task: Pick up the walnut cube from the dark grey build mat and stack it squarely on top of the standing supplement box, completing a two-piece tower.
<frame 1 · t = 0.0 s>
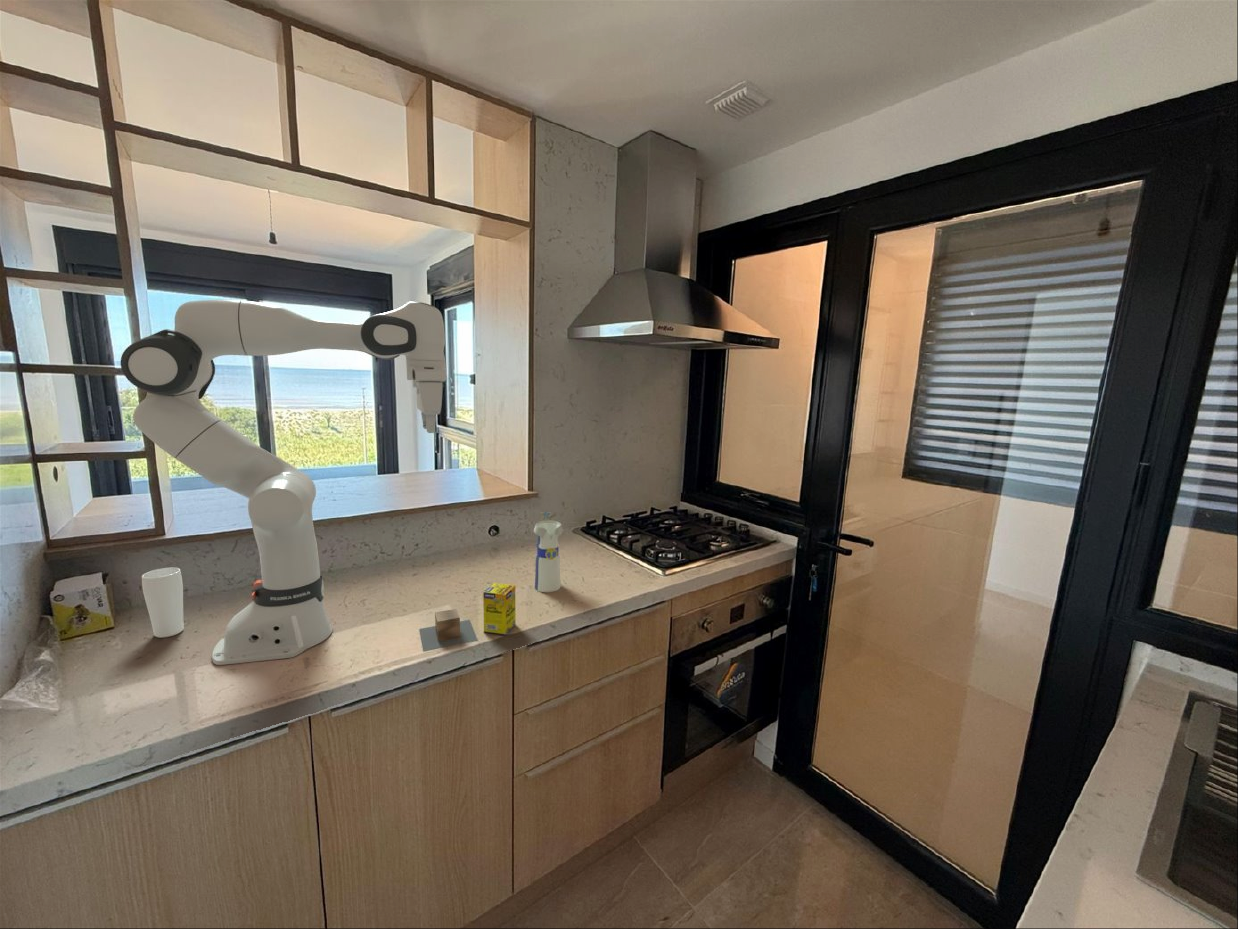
hand: (428, 430, 122), 48 cm above the countertop, fingers open, 8 cm apart
drinking glass: (169, 633, 117), on the countertop
walnut cube: (447, 634, 119), resting on build mat
water bottle: (548, 587, 148), on the countertop
build mat: (447, 636, 119), on the countertop
supplement box: (500, 630, 122), on the countertop
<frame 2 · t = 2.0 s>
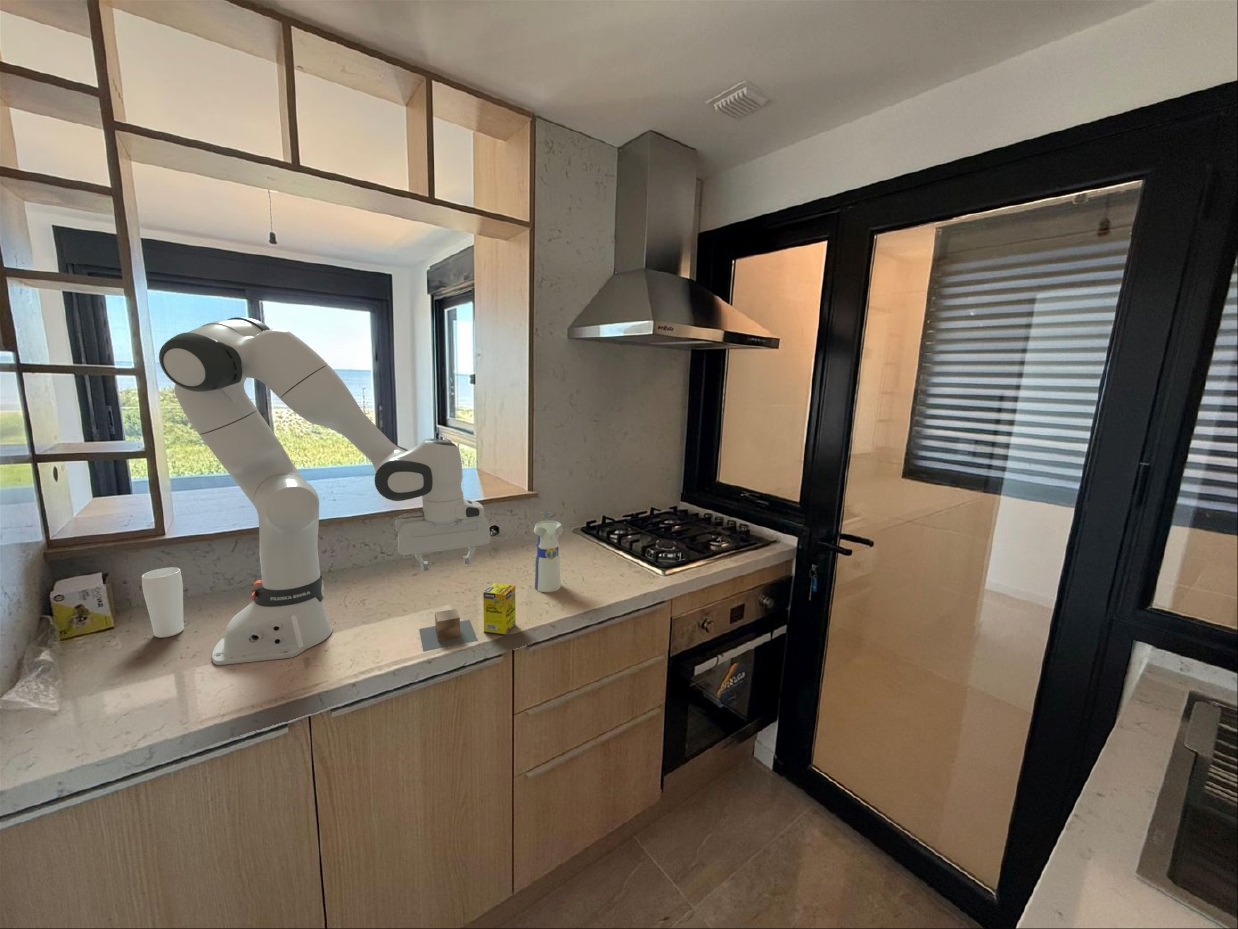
hand: (446, 566, 116), 17 cm above the countertop, fingers open, 8 cm apart
nothing on the countertop moved.
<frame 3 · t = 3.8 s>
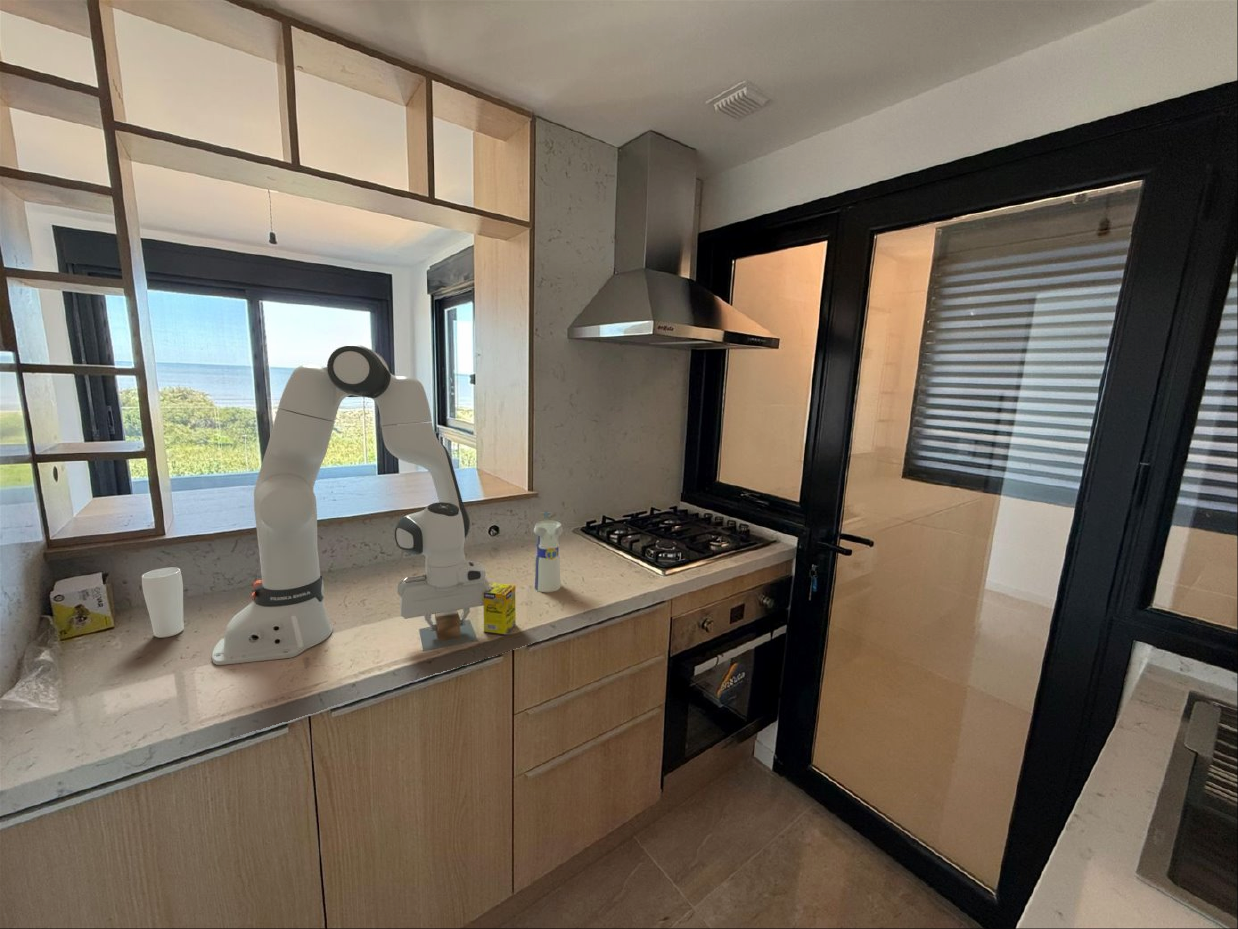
hand: (447, 627, 118), 2 cm above the countertop, fingers closed on walnut cube, 5 cm apart
walnut cube: (447, 634, 119), resting on build mat, touching gripper
everything else where it was.
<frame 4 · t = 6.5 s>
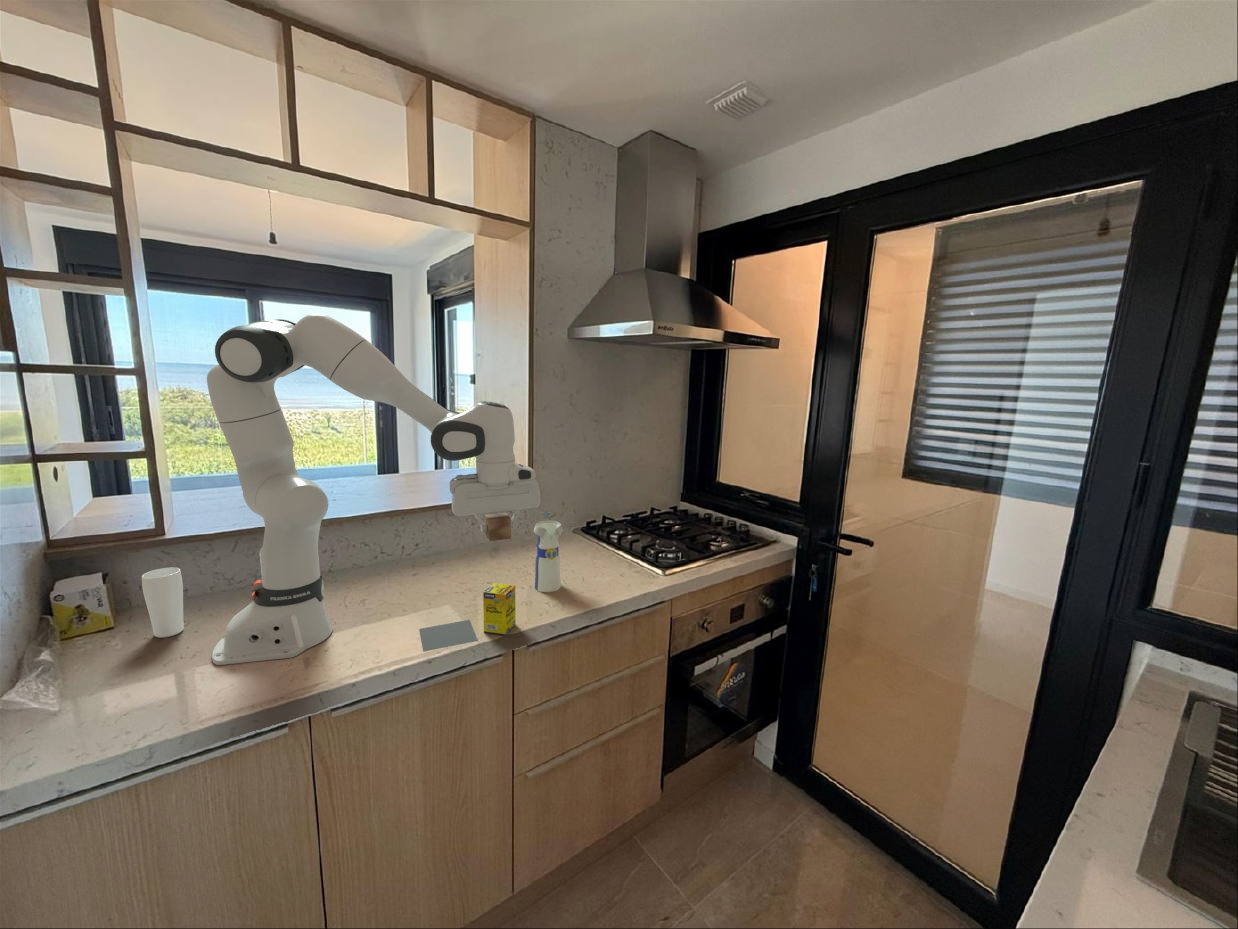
hand: (498, 529, 118), 26 cm above the countertop, fingers closed on walnut cube, 5 cm apart
walnut cube: (498, 536, 118), point 24 cm above the countertop, touching gripper
everything else where it was.
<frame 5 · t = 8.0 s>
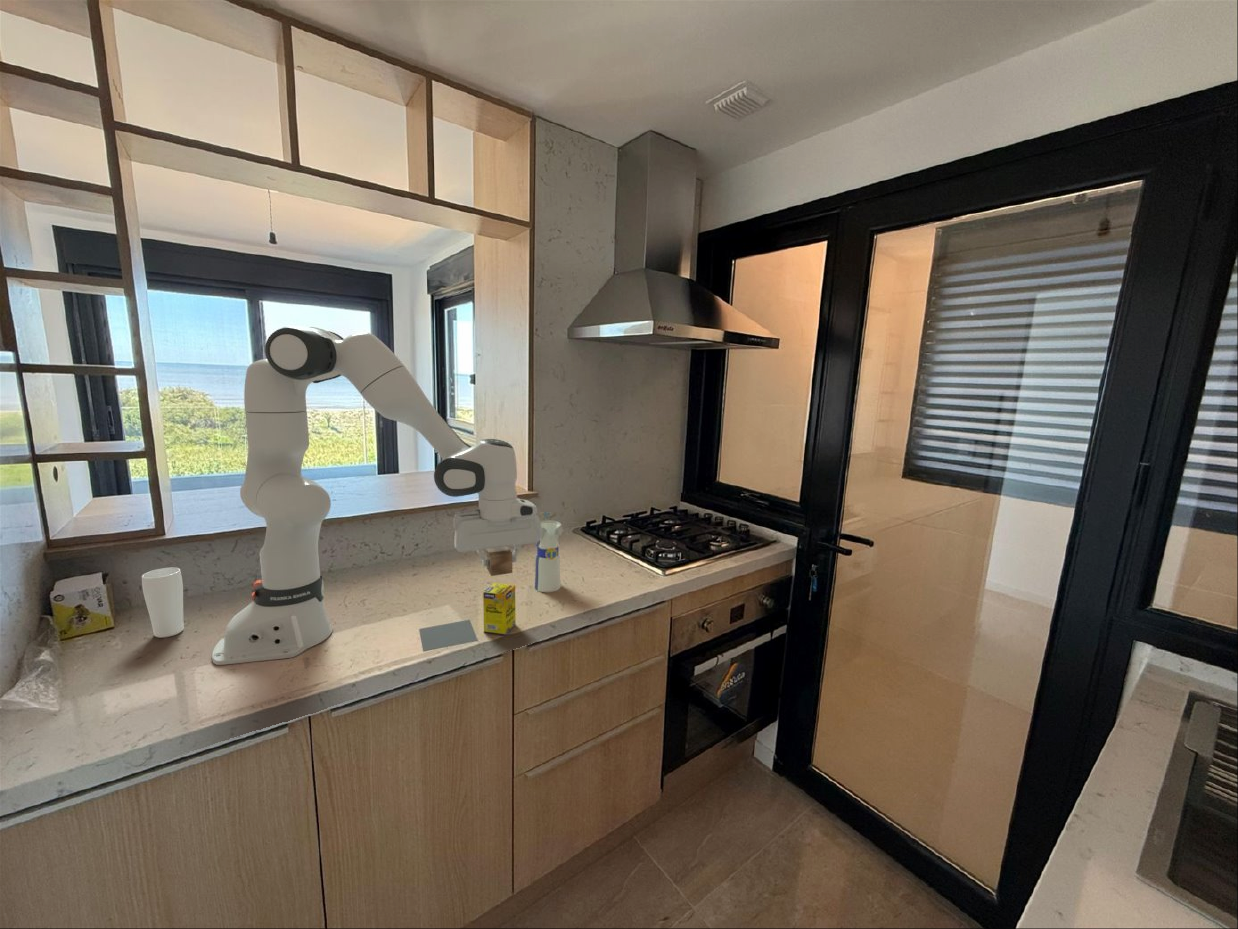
hand: (499, 563, 119), 17 cm above the countertop, fingers closed on walnut cube, 5 cm apart
walnut cube: (499, 570, 120), point 15 cm above the countertop, touching gripper
everything else where it was.
when the fingers open (14 cm above the countertop, at t = 9.0 s): walnut cube drops 1 cm, resting on supplement box.
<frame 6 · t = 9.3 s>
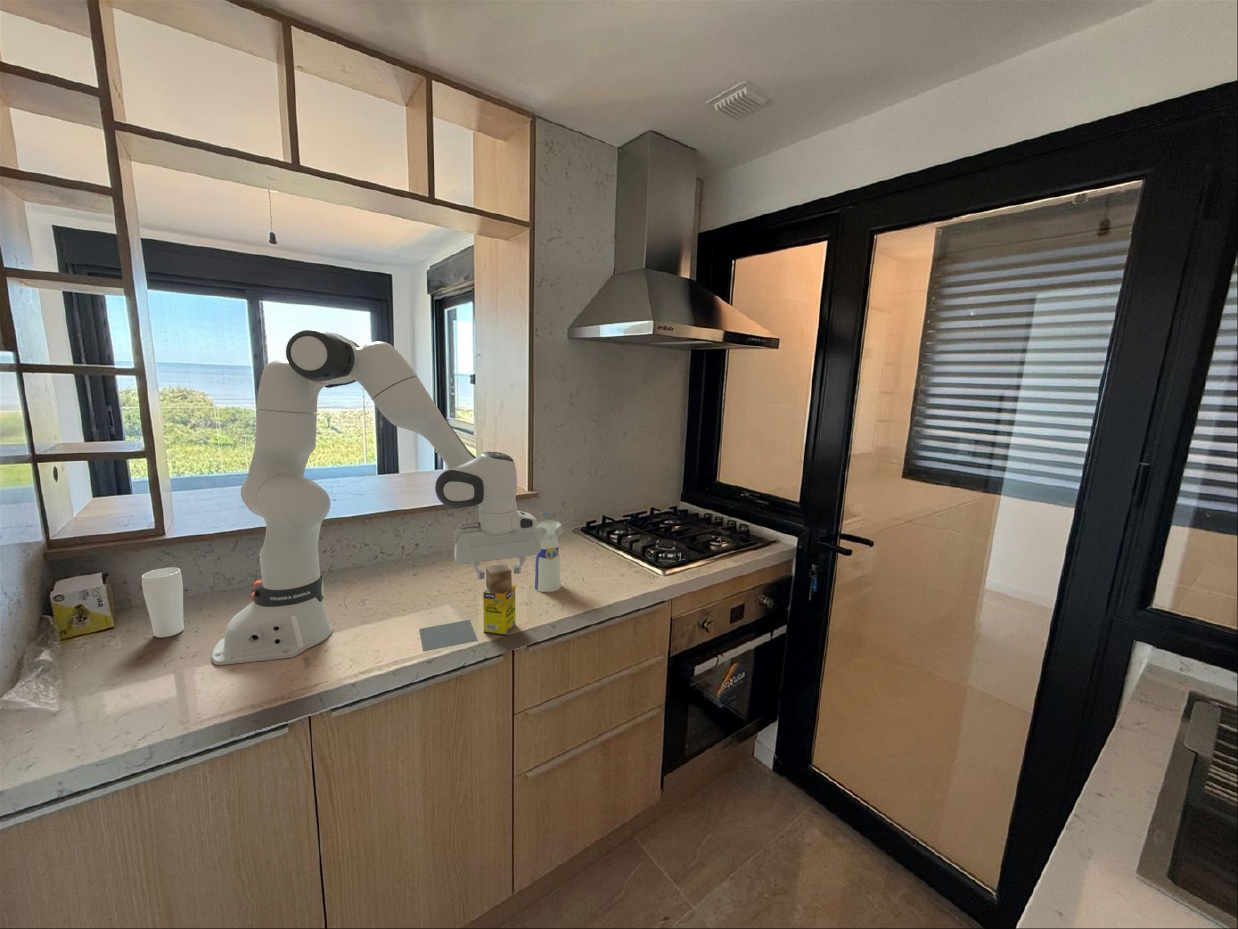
hand: (499, 575, 120), 14 cm above the countertop, fingers open, 7 cm apart
walnut cube: (498, 588, 120), point 11 cm above the countertop, touching supplement box
supplement box: (500, 630, 122), on the countertop, touching walnut cube
everything else where it was.
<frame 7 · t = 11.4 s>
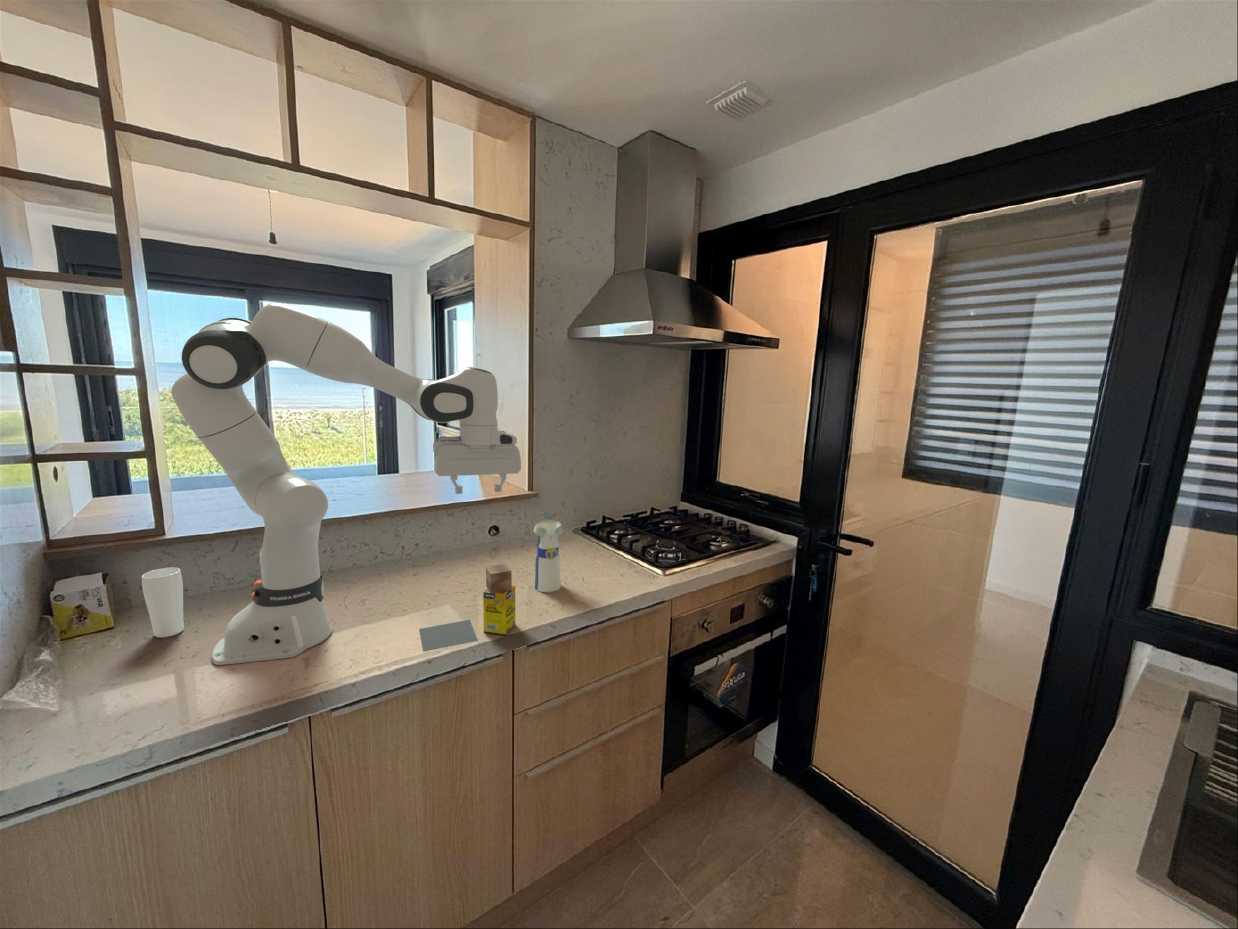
hand: (478, 492, 122), 33 cm above the countertop, fingers open, 8 cm apart
nothing on the countertop moved.
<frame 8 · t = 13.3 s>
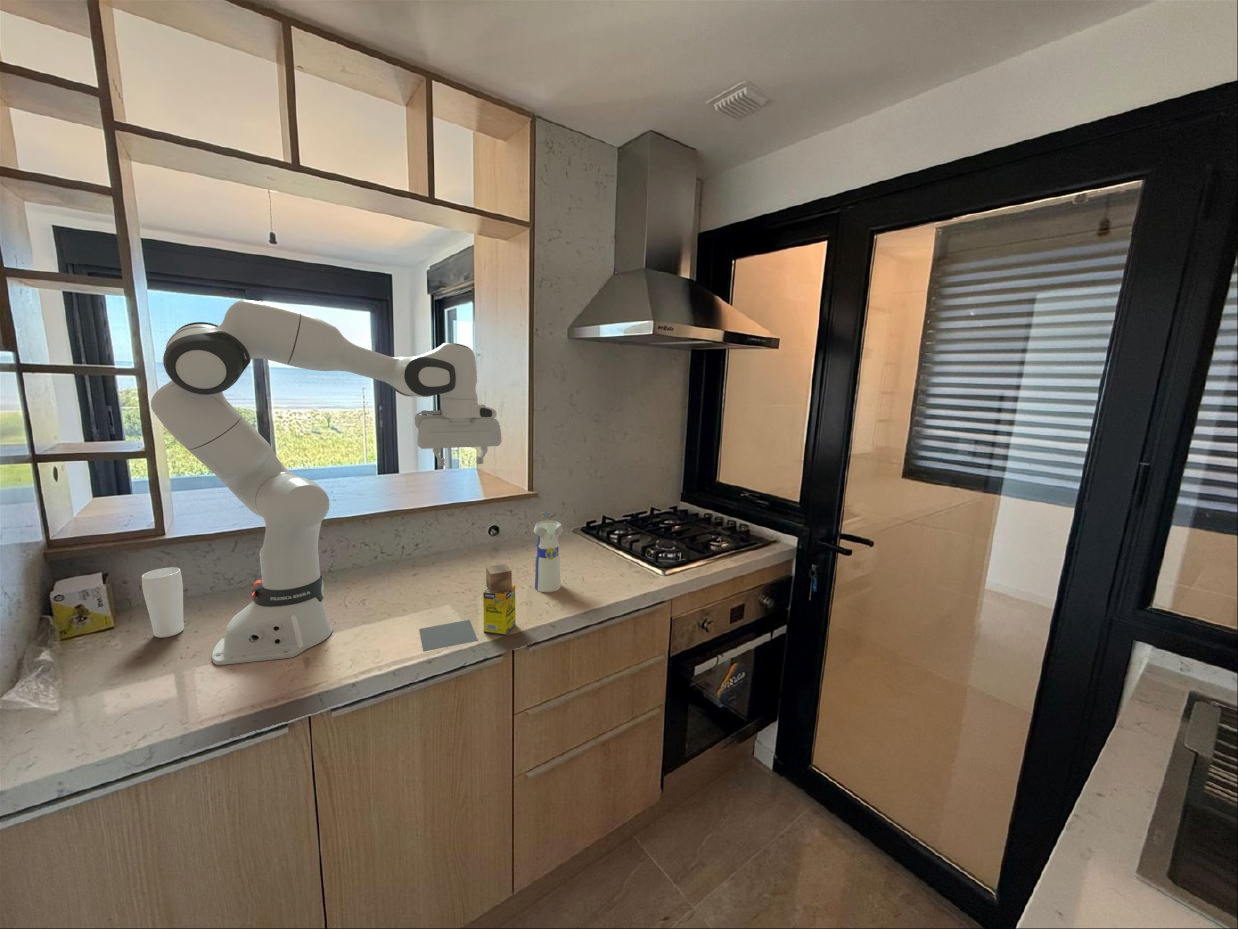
hand: (461, 464, 126), 39 cm above the countertop, fingers open, 8 cm apart
nothing on the countertop moved.
at the end: walnut cube 0.1 cm off-centre on the supplement box, point 11.1 cm above the supplement box's base; supplement box tilted 0°; the gripper is holding nothing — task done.
